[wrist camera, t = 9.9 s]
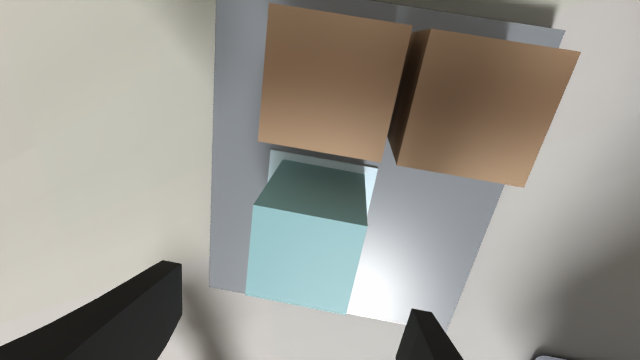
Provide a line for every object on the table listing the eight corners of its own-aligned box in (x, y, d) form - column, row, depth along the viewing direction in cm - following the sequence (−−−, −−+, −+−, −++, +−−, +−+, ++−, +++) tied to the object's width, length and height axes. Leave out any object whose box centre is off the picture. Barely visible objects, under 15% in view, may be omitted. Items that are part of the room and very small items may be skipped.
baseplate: (441, 319, 20) (446, 333, 19) (215, 276, 21) (208, 287, 20) (551, 31, 14) (566, 30, 13) (225, -20, 15) (215, -25, 14)
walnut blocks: (473, 143, 15) (523, 187, 10) (287, 112, 15) (257, 141, 11) (504, 49, 14) (581, 51, 9) (298, 16, 14) (268, 2, 9)
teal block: (348, 244, 18) (345, 315, 13) (274, 229, 18) (245, 294, 13) (364, 174, 16) (367, 226, 11) (282, 159, 16) (253, 204, 12)
